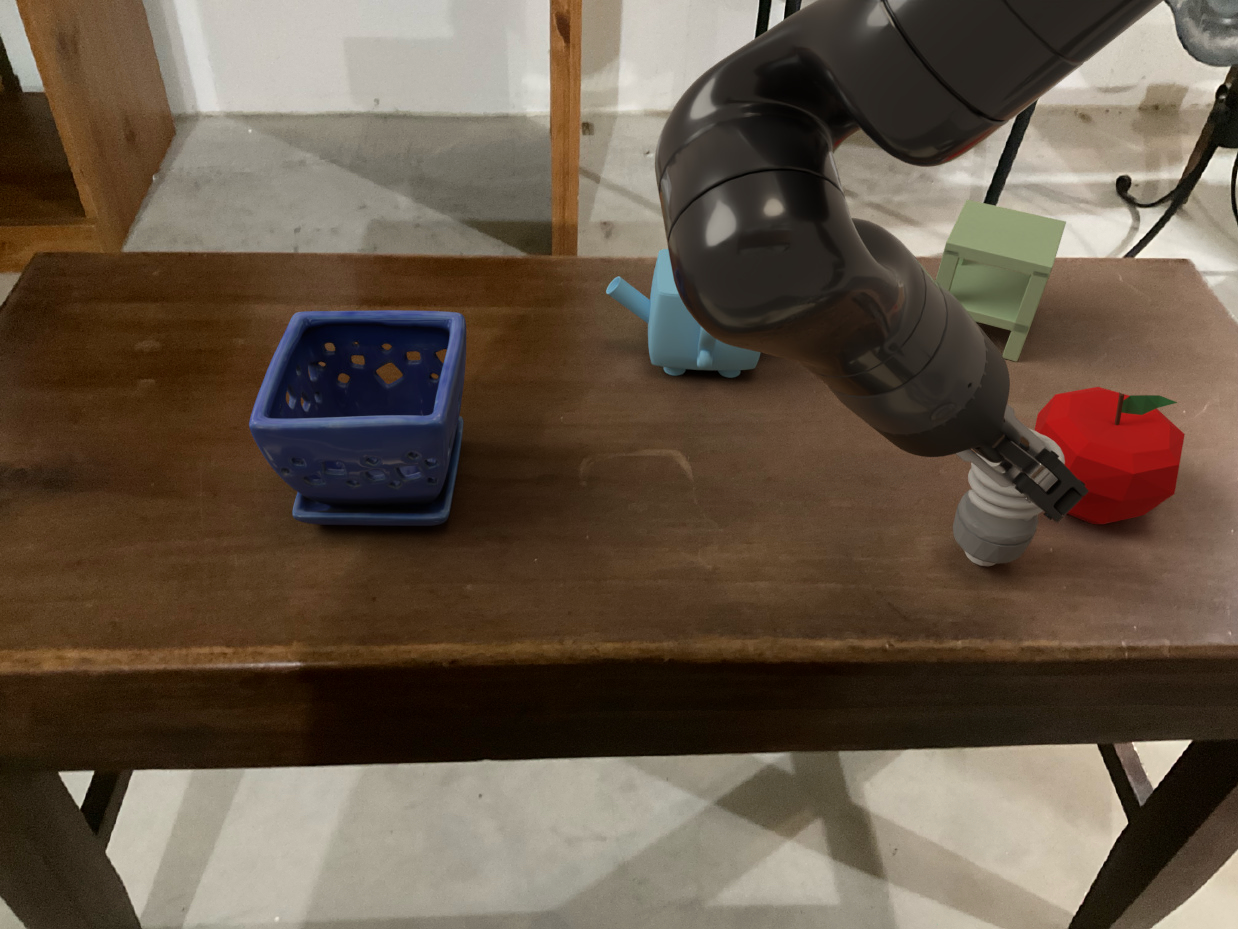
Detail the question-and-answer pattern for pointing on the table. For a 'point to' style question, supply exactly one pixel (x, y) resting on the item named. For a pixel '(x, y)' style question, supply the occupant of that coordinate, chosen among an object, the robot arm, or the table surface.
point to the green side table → (1004, 245)
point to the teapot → (678, 328)
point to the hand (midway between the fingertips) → (1006, 457)
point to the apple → (1115, 450)
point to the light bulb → (996, 517)
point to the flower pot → (365, 416)
